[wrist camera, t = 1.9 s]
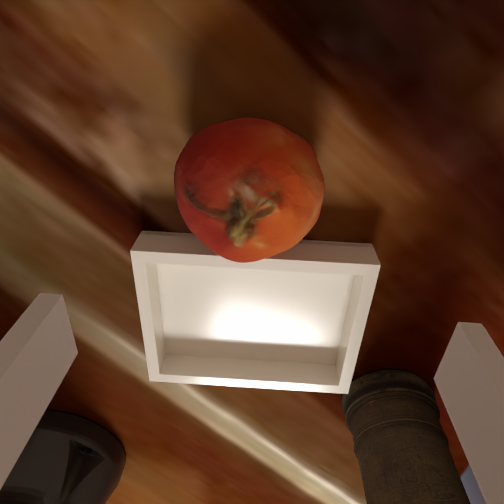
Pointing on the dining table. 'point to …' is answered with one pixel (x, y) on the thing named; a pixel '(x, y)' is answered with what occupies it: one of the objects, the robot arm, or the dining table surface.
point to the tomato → (248, 188)
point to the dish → (253, 313)
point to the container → (400, 441)
